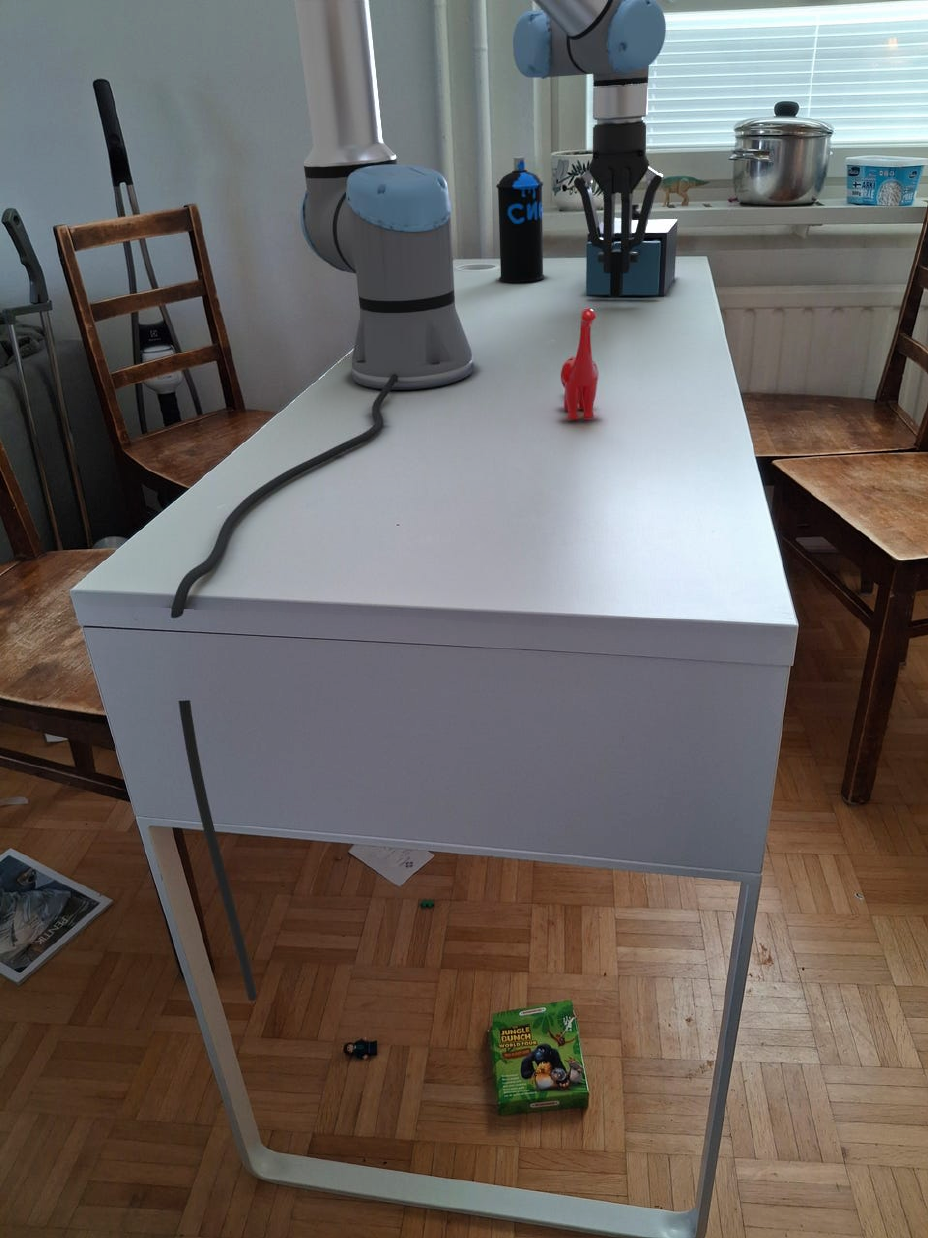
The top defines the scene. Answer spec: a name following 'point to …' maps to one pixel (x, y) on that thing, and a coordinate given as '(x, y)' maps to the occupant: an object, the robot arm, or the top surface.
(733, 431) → the top surface
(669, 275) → the cabinet
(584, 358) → the dinosaur
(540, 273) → the aerosol can
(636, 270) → the drawer
